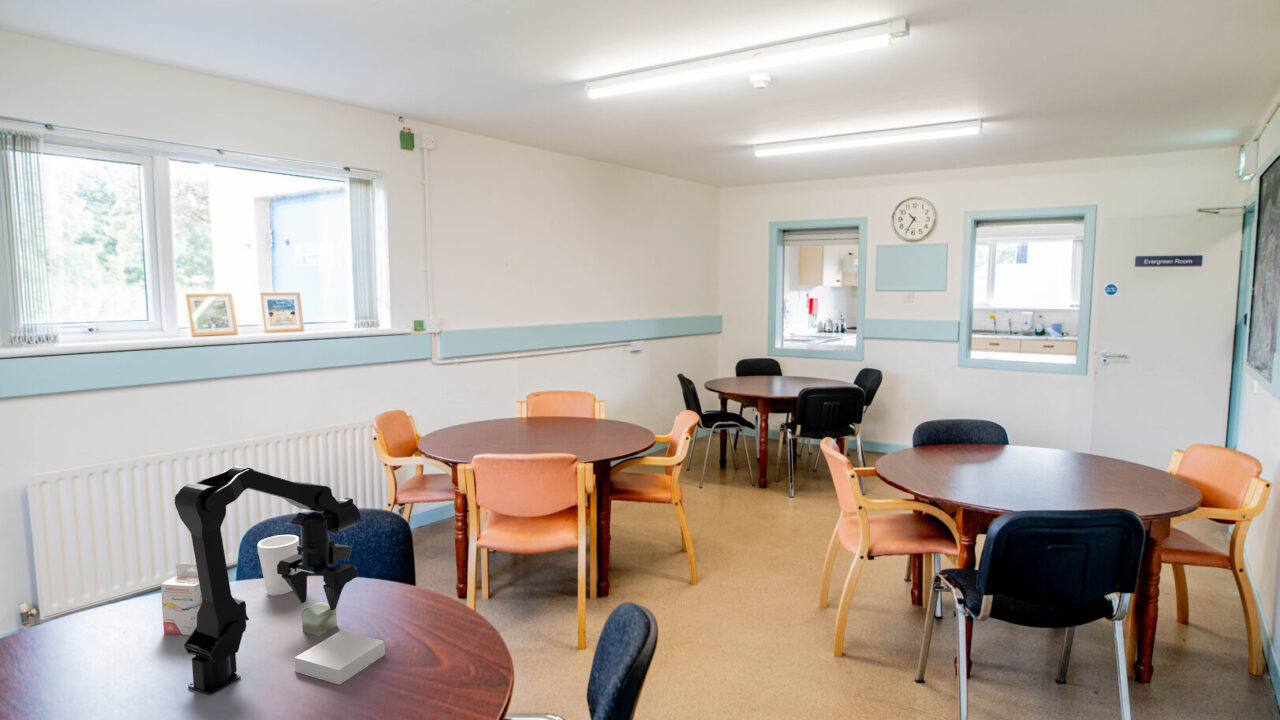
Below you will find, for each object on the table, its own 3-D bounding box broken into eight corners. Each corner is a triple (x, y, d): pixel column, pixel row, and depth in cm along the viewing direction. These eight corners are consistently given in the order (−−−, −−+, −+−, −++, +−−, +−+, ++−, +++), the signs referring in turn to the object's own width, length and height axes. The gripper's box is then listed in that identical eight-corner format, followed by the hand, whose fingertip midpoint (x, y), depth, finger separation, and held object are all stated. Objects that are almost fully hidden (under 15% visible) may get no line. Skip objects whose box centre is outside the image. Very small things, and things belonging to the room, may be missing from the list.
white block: (339, 684, 130) (338, 670, 130) (295, 671, 135) (294, 657, 135) (384, 654, 141) (384, 641, 141) (342, 643, 146) (341, 630, 146)
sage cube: (318, 636, 149) (317, 614, 149) (302, 631, 151) (301, 610, 151) (336, 626, 154) (336, 605, 154) (320, 622, 156) (319, 601, 156)
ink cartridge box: (162, 634, 150) (157, 571, 149) (179, 623, 155) (175, 562, 154) (197, 636, 149) (193, 572, 148) (214, 625, 154) (210, 563, 153)
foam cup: (288, 598, 168) (286, 548, 167) (252, 598, 168) (249, 547, 167) (308, 582, 177) (305, 534, 176) (273, 582, 178) (271, 534, 176)
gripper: (374, 533, 154) (376, 598, 156) (314, 522, 162) (317, 585, 163) (335, 549, 144) (338, 619, 146) (273, 537, 151) (277, 604, 153)
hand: (318, 605), depth 152 cm, fingers open, 9 cm apart
